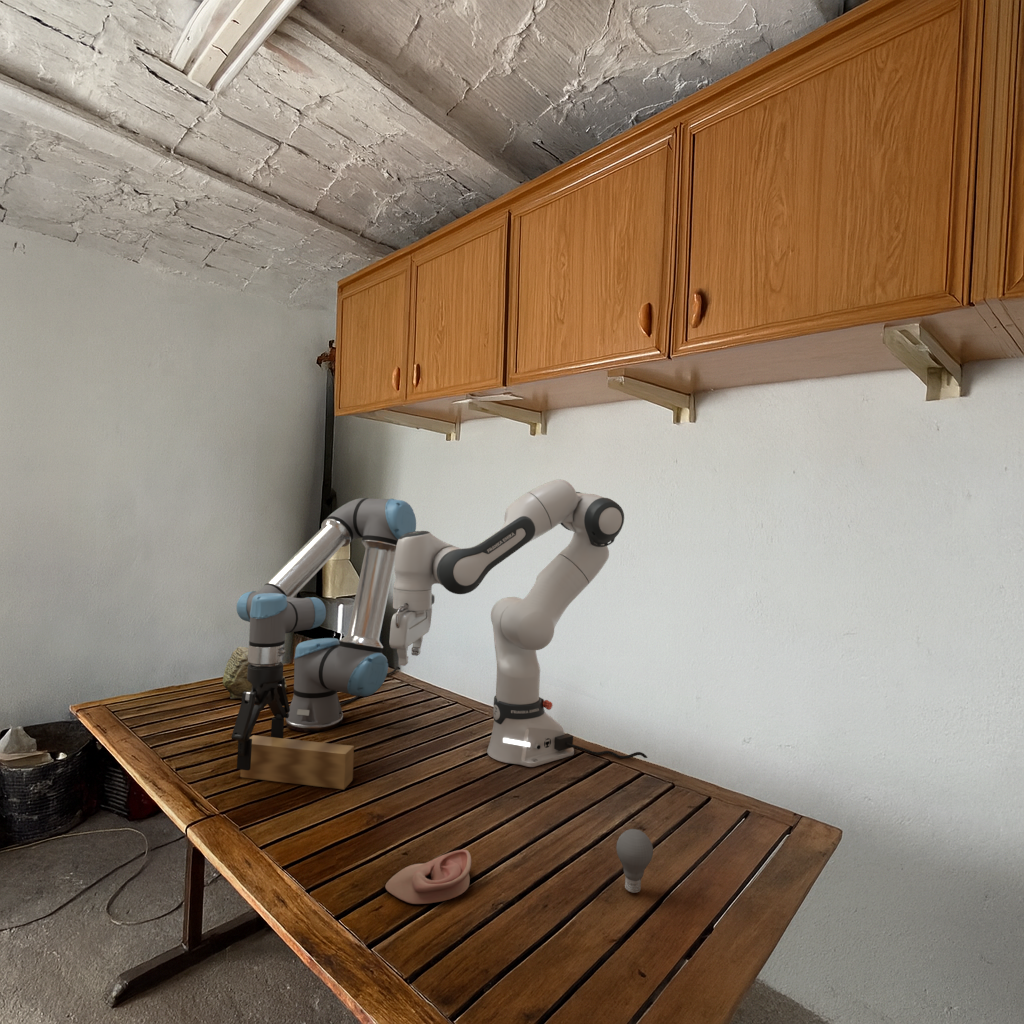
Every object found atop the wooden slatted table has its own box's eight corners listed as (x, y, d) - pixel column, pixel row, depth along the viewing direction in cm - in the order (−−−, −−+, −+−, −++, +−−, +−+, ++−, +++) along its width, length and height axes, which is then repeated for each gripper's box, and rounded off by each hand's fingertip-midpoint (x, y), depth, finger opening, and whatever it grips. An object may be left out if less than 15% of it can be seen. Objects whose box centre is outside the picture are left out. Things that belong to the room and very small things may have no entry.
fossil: (218, 695, 195) (220, 647, 195) (278, 685, 208) (279, 640, 207) (228, 703, 189) (230, 653, 188) (289, 692, 201) (290, 645, 201)
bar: (240, 777, 141) (241, 742, 141) (252, 768, 146) (253, 735, 146) (344, 789, 137) (345, 754, 137) (352, 780, 142) (354, 745, 142)
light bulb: (610, 879, 108) (613, 822, 108) (644, 879, 109) (647, 822, 109) (619, 902, 102) (622, 840, 102) (655, 901, 103) (658, 840, 103)
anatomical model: (378, 873, 101) (404, 836, 112) (377, 898, 101) (403, 858, 112) (458, 887, 98) (477, 848, 109) (457, 912, 98) (476, 870, 109)
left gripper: (250, 678, 130) (244, 782, 130) (307, 652, 154) (302, 739, 154) (216, 675, 131) (211, 777, 131) (278, 650, 155) (274, 736, 155)
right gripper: (411, 608, 137) (408, 672, 137) (436, 595, 157) (434, 650, 157) (383, 606, 138) (381, 670, 138) (412, 593, 158) (410, 648, 158)
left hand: (260, 757), depth 142 cm, fingers open, 13 cm apart
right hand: (409, 659), depth 148 cm, fingers open, 8 cm apart
